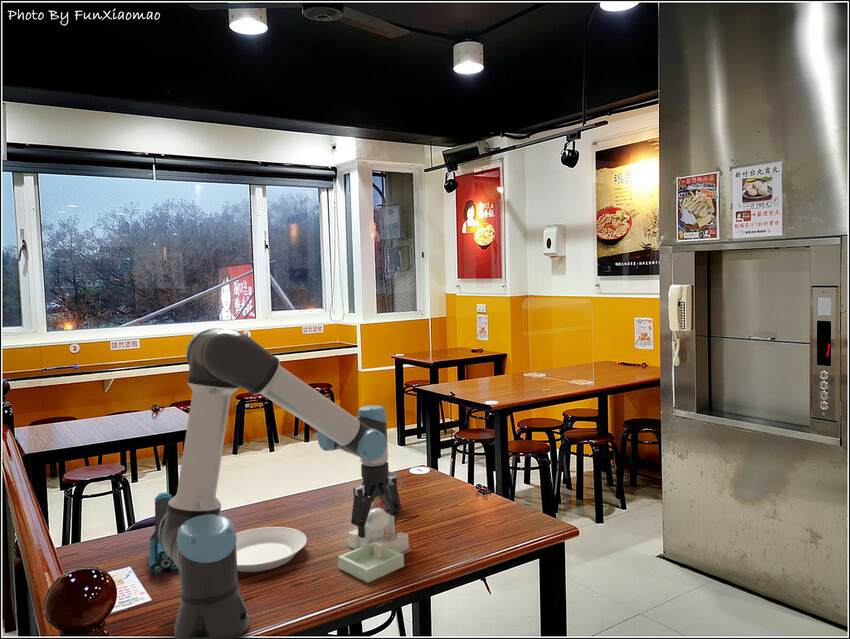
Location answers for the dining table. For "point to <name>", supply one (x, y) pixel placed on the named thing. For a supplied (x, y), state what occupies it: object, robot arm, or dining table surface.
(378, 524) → the lightbulb
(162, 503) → the gun
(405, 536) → the holder
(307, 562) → the dining table surface
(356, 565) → the tray
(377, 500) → the mug
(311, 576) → the dining table surface
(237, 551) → the bowl
